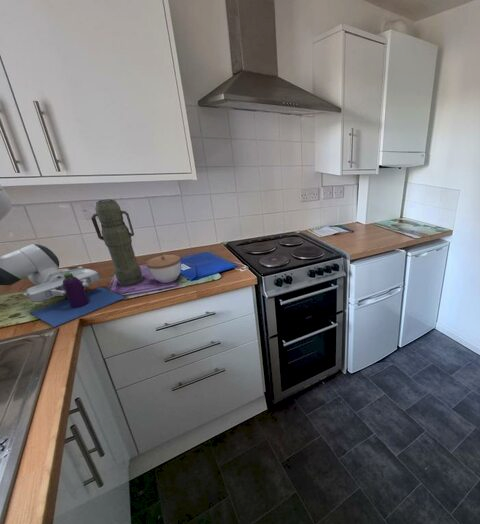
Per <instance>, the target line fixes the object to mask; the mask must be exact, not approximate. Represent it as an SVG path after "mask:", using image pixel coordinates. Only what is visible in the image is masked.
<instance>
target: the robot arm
mask: <svg viewBox="0 0 480 524" xmlns="http://www.w3.org/2000/svg"><path fill="white" fill-rule="evenodd" d="M12 206H13V202H12V200H11V197H10V195H9V194H8V193H7V191H6V190H5V189H4V187H3V186H2V185H1V184H0V221H1V220H3V219H4V218H6V216H7V215H8V214H9V213H10V211H11V210H12ZM67 273H72V275H73V276H74V277H77V278H78V279H79V280H81V282H82V285H83V287H84V289H86V288H89V285H91V284H94V283H96V282H100V280H101V278H100V275H99V273H98V271H96V270H93V269H90V268H84V266H74V267H68V268H60V260H59V258H58V256H57V255H56V254H55V253H54V251H52V250H51V249H50V248H49V247H47V246H44V245H41V244H38V243H32V244H29V245H26V246H23V247H21V248H19V249H16V250H14V251H12V252H9V253H6V254H4V255H1V256H0V286H12V285H14V284H16V283H18V282H20V281H21V280H22V279H25V278H27V279H28V281H30V283H32V284H33V285H34V286H31V287H28V288H27V289H26V290H25V291H24V292H22V296H23V297H28V298H29V300H30V301H31V302H33V303H40V302H42V301H45V300H49V299H51V298H54V297H59V296H60V297H64V296H66V295H67V293H66V291H65V290H64V289H63V287H62V284H63V280H64V279H65V277H64V275H65V274H67Z"/></svg>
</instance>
